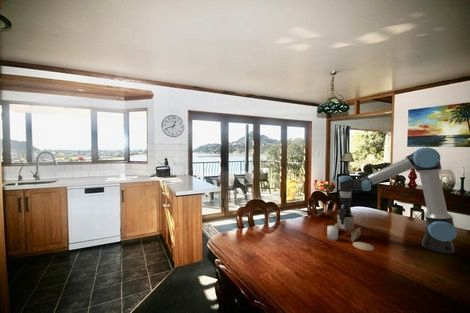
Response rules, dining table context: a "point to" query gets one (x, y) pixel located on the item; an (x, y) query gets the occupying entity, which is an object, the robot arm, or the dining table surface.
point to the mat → (363, 246)
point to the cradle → (353, 233)
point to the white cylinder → (332, 233)
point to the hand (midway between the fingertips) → (345, 226)
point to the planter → (346, 222)
